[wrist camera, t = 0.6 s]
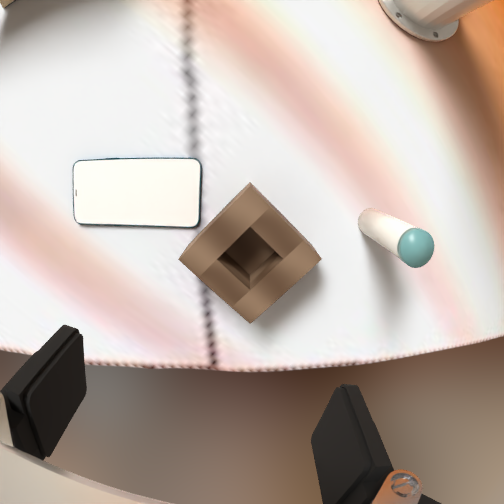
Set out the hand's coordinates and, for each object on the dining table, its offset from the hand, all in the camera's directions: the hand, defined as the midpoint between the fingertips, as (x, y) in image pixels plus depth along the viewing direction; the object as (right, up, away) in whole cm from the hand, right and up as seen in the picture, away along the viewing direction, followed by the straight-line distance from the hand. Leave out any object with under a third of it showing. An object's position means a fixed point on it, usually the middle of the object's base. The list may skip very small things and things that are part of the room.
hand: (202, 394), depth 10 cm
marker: (+16, +9, +26) cm, 31 cm away
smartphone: (-12, +12, +25) cm, 30 cm away
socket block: (+2, +6, +26) cm, 27 cm away
